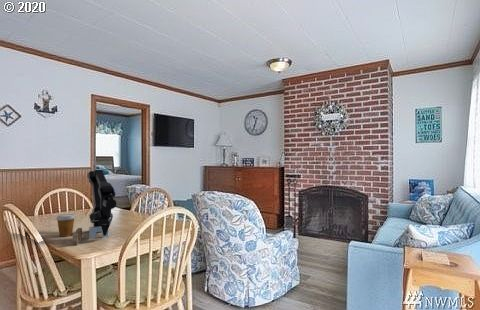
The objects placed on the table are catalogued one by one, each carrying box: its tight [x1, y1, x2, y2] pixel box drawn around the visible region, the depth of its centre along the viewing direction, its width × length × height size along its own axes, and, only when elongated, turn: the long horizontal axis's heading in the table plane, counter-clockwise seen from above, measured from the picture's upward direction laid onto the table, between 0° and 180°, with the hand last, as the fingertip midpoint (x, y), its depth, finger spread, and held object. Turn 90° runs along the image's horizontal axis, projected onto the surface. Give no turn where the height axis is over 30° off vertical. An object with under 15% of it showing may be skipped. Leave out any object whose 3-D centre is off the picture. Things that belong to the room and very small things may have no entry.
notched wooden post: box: [72, 227, 83, 247], centre depth 158 cm, size 14×2×6 cm, turn 19°
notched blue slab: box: [88, 226, 110, 239], centre depth 167 cm, size 2×10×6 cm, turn 109°
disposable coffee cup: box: [56, 213, 76, 238], centre depth 170 cm, size 10×10×12 cm
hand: (105, 233), depth 168 cm, fingers open, 9 cm apart
